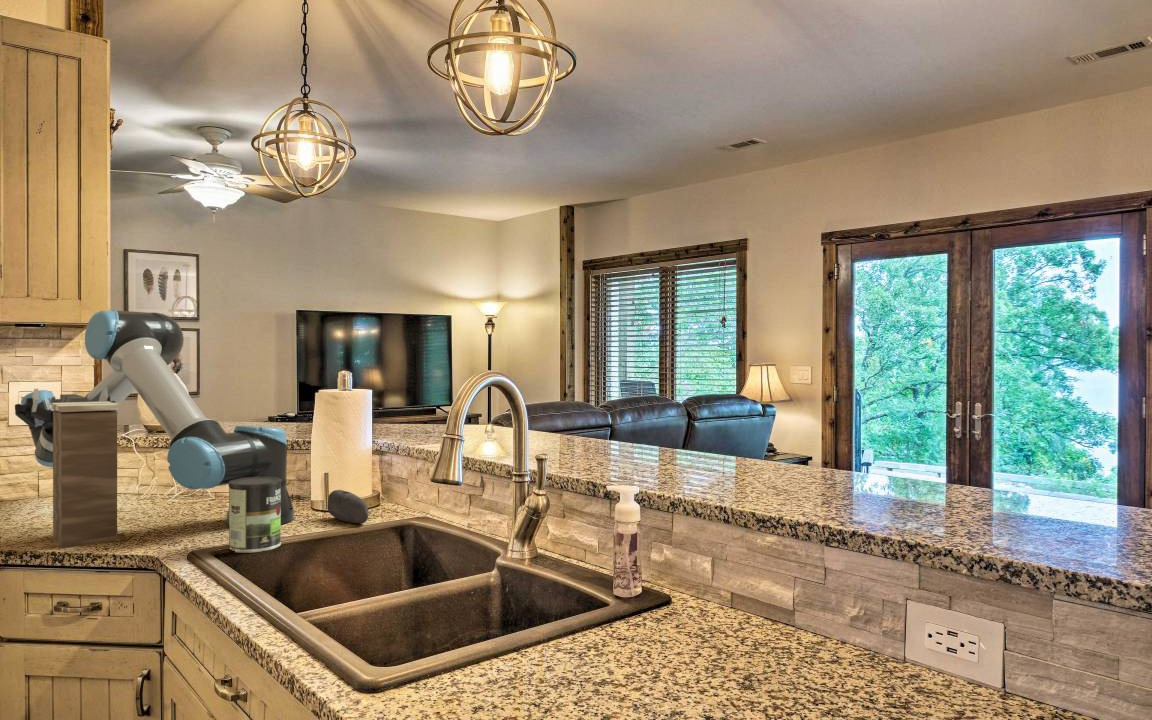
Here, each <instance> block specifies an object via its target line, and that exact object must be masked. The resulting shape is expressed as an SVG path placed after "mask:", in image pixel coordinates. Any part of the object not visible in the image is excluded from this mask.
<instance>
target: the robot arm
mask: <svg viewBox="0 0 1152 720" xmlns="http://www.w3.org/2000/svg"><path fill="white" fill-rule="evenodd" d="M184 339H185V338H184V332H183V330H182V327H181V326H180V325H179V323H178V322H177V321H176V320H175V319H173V318H172V317H170V316H169V315H166V314H164V313H160V312H146V311H130V310H129V311H128V310H116V309H112V310H99V311H98V312H96V313H94V314H93V315H92V316H91V317H90V319H89V321H88V323H87V325H86V327H85V331H84V346H85V349H86V352H87V354H88V356H90V358H92V359H93V360H94V359H95V360H98V361H100V360H106V362H107V363H108V364H109V366H110V367H111V369H112V370H111V371H110V372H109V373H108V374H107V375H106V376H105V377H104V378H103V379H102V380H100V382H98V384H96V385H95V386H94V387H93V388H92V389H91V390H90V391H89V392H88V393H87V394H86V395H85V396H84V397H87V398H88V402H94V401H109V402H113V403H116V404H119V405H120V404H121V403H122V402H123V401H125V400H126V398H128V397H129V396H130V395H131V394H132V393H133V392H135V390H136V392H137V393H138V394H139V396H140V397H141V398H142V400H143V401H144V403H145V405H146V406H147V408H148V409H149V410H150V412H151V414H152V415H153V416H154V417H155V419H156V420H157V422H158V423H159V424H160V426H161V428H162V429H163V430H164V432H165V433H166V435H167V437H169V439H170V441H169V443H168V452H167V459H166V460H167V463H168V464H169V466H168V467H167V468H168V471H169V473H170V475H171V477H172V478H173V480H174V481H175V482H176V483H177V484H179V485H180V486H182V487H184V489H189V490H209V489H211V488H215V487H219V486H225V485H228V482H229V481H231V480H235V479H240V478H248V477H277V478H280V479H281V525H284V524H286V523H290V522H291V521H293V520H294V518H295V509H294V507H293V503H292V500H291V496H290V494H289V492H288V488H287V470H288V469H287V461H288V460H287V456H288V455H287V454H288V443H287V433H286V431H285V429H283V428H282V427H272V426H258V425H257V426H255V425H238V424H237V425H236V426H234V429H233V432H228V433H227V432H226V431H225V430H224V428H223V427H222V426H221V424H220V422H218V421H217V420H216V419H213V418H207V417H206V416H205V415H204V413H203V412H202V411H201V409H200V408H199V406H198V405H197V404H196V401H194V399H193V398H192V397H191V395H190V394H189V392H188V391H187V389H186V388H185V387H184V386H183V384H182V383H181V381H180V379H179V378H177V376H176V375H175V373H174V372H173V370H172V369H171V368H170V366H169V365H170V364H172V362H173V361H174V360H175V359H177V358H178V356H179V354H180V353H181V351H182V349H183V347H184ZM51 403H60V398H56V396H55V395H54V393H53V392H52V391H50V390H47V389H41V390H39V388H34V389H33V391H32V392H30V393H28V394H26V395H24V397H23V398H22V399H21V400H20V403H16V404H14V411H15V412H14V414H15V416H16V417H17V418H19V420H21V421H23V423H25V424H26V425H27V426H28V429H29V430H30V435H31V438H32V441H33V443H34V447H35V449H34V458H35V460H36V462H37V463H38V464H40V465H42V466H43V467H46V468H53V410H54V409H51ZM114 411H117V414H118V413H119V412H118V411H119V410H114ZM225 520H226V521H225V522H226V525H227V526H229V508H228V509H227V512H226V519H225Z"/></svg>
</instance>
